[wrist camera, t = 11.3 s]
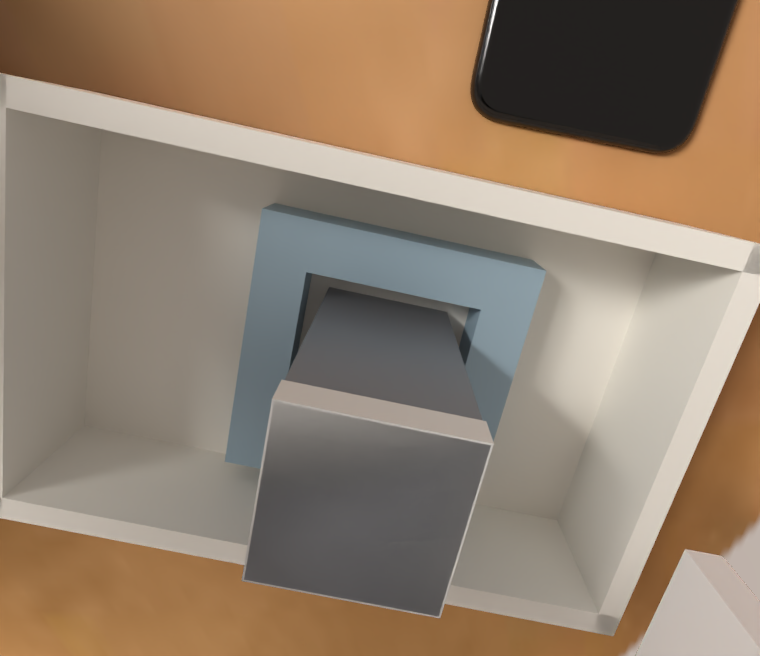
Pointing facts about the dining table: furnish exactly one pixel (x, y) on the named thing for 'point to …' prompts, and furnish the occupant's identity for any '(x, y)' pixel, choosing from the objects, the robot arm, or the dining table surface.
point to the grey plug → (369, 459)
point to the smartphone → (600, 67)
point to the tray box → (295, 315)
